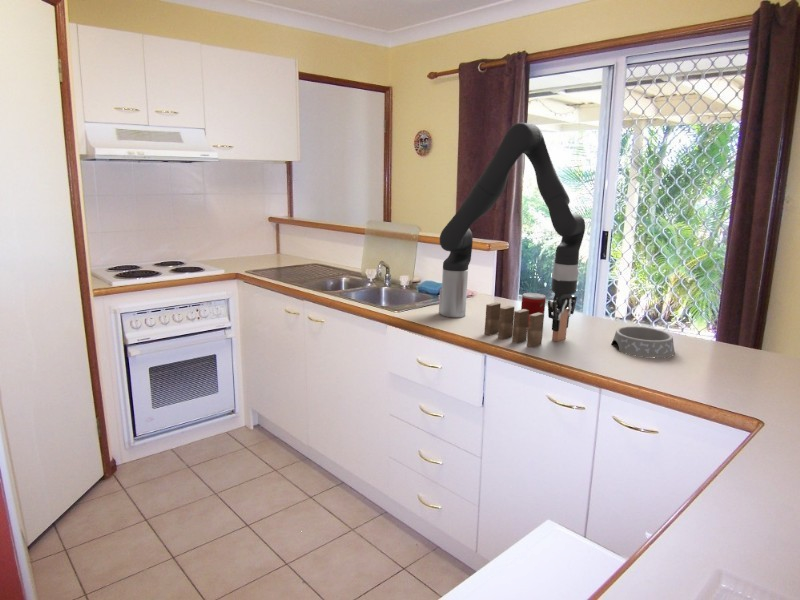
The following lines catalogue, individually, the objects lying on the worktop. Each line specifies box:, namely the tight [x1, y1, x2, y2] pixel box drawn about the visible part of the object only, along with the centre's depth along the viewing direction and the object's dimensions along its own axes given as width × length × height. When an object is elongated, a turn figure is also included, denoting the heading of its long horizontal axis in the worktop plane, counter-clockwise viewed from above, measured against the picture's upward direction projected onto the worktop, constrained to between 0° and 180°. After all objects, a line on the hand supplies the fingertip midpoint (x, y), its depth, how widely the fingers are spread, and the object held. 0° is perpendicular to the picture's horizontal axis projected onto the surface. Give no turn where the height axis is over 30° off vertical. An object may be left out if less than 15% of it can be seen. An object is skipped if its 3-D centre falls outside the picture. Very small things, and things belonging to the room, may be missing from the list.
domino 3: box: [511, 308, 529, 344], centre depth 172 cm, size 2×5×10 cm, turn 133°
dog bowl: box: [611, 325, 676, 359], centre depth 168 cm, size 17×18×5 cm
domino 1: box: [484, 302, 502, 336], centre depth 180 cm, size 2×5×10 cm, turn 133°
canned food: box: [520, 292, 547, 327], centre depth 190 cm, size 8×8×11 cm
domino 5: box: [551, 309, 568, 342], centre depth 175 cm, size 2×5×10 cm, turn 133°
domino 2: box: [497, 305, 515, 340], centre depth 176 cm, size 2×5×10 cm, turn 133°
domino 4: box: [526, 312, 545, 349], centre depth 168 cm, size 2×5×10 cm, turn 134°
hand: (559, 329), depth 175 cm, fingers closed on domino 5, 5 cm apart
